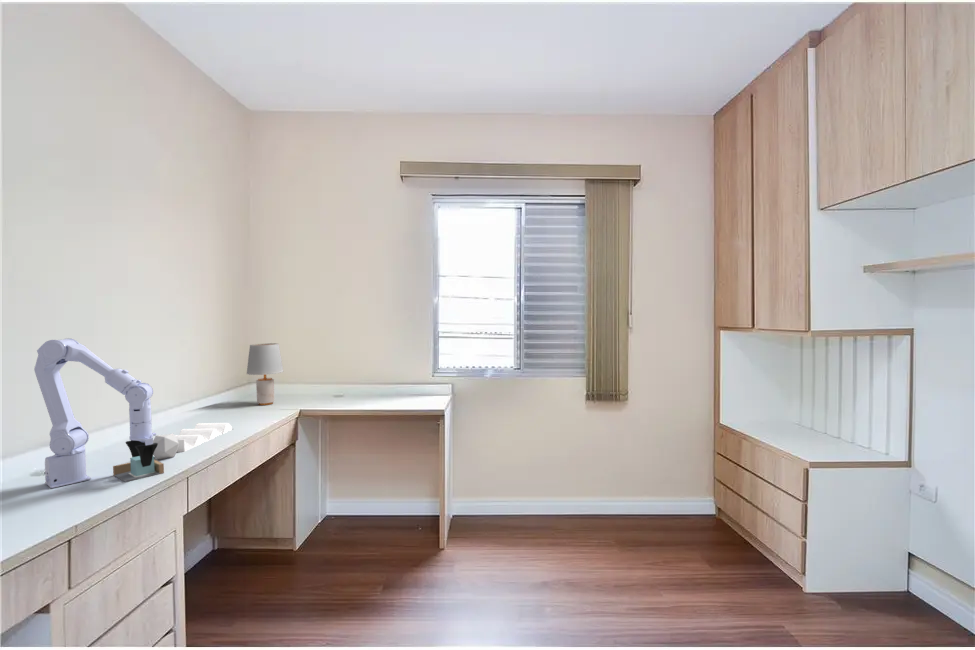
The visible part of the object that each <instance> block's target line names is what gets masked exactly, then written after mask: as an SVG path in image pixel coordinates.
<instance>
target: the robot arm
mask: <svg viewBox="0 0 975 650" xmlns="http://www.w3.org/2000/svg"><path fill="white" fill-rule="evenodd" d="M36 353H37V358H36V362H35V366H34V370H33V371H34V374H35V377H36V379H37V383H38V385H39V388H40V392H41V394H42V395H41V396H42V398H43V400H44V404H45V407H46V410H47V412H48V415H49V419H50V421H51V429H50V431H49V438H50V442H49V449H50V451H52V453H54V454H53V455H50V456H46V457H45V459H44V472H45V473H44V478H45V479H44V480H45V482H44V484H46V486H48V487H49V488H51V489H55V488H58V487H64V486H68V485H72V484H73V485H74V484H77V483H81V482H85V481H89V480H91V479H92V478H91V477H90V476H89V475H88V474H87V462H86V461H87V459H86V458H87V457H86V456H87V455H86V447H85V445H86V444H87V443H88V441H89V438H90V436H89V433H88V431H87V430H86V429H84V427H83V425H82V423H81V421H79V420H77V419H76V418H75V416H74V411H73V409H72V406H71V403H70V400H69V397H68V394H67V390H66V388H65V385H64V382H63V379H62V378H63V377H62V375H61V372H60V371H61V370H62V368H63V367H64V366H66V364H67V363H68V362H74V363H75V362H78V363H81V364H82V365H84V366H86V367H88V368H90V369H91V370H93V371H95V372H96V373H97V374H99V375H101V376H102V377H104V383H105V384H106V385H108V386H110V387H111V388H113V389H114V390H116V391H117V392H119V393H120V394H121V395H123V396H124V397H125V400H126V401H127V403H128V406H129V407H128V408H129V409H128V414H129V418H128V419H129V440H126V441H125V444H126V446H127V447H128V450H129V452H130V454H131V458H132V457H137V456H140V459H141V464H142V467H146V466H150V465H151V462H152V457H153V456H154V455H153V454H154V451H155V449H156V447H157V445H158V443H153V440H154V438H153V437H155V436H157V432H153V431H152V430H153V429H152V428H153V427H152V403H151V402H152V401H151V398H152V397H153V394H154V390H153V388H152V386H151V385H150V384H149V383H146V382H142V380H141V379H137V378H135V377H134V376H132V375H131V374H129V372H130V371H129V370H128V369H122V368H120V367H119V368H113V367H112V366H111V365H109V364H108V363H107V362H106V361H104V360H103V359H102V358H100V357H99V356H98V355H96V354H95V353H94V352H93V351H92V350H90V349H88V347H86V345H84V344H82V343H79V341H78V340H76V339H74V338H69V337H68V338H67V337H66V338H63V339H49V340H46V341H45V342H44V343H43V344H41V346H40V347H39V348H38V349H37V350H36Z"/></svg>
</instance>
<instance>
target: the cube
mask: <svg viewBox="0 0 975 650" xmlns="http://www.w3.org/2000/svg"><path fill="white" fill-rule="evenodd" d="M154 460H155V456H154V455H153V457H152V462H151V465H150V466H146V467H142V464H141V459H140V456H137V457H132V456H131V457H130V461H129V463H130V464H131V474H133V475H135V476H140V475H144V474H149V473H153V472H155V470H154Z"/></svg>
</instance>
